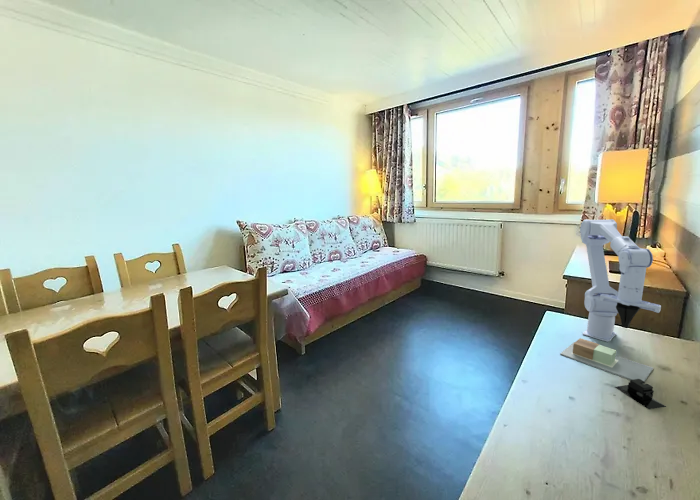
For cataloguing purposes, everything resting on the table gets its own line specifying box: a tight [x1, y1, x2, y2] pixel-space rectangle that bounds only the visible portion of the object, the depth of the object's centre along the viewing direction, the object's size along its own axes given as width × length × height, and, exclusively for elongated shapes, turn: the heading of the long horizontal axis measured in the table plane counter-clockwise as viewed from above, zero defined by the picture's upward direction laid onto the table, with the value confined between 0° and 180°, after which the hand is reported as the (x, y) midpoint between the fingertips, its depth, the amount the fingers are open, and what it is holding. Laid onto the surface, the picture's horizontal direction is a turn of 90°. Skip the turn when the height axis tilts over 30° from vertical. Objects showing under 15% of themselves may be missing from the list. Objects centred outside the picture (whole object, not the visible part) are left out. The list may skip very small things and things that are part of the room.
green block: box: [593, 344, 617, 365], centre depth 102 cm, size 5×5×4 cm
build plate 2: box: [614, 379, 667, 410], centre depth 85 cm, size 12×7×5 cm, turn 8°
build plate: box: [559, 341, 654, 383], centre depth 102 cm, size 12×21×1 cm, turn 37°
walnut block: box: [573, 337, 600, 360], centre depth 106 cm, size 6×6×4 cm
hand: (625, 326), depth 102 cm, fingers closed
